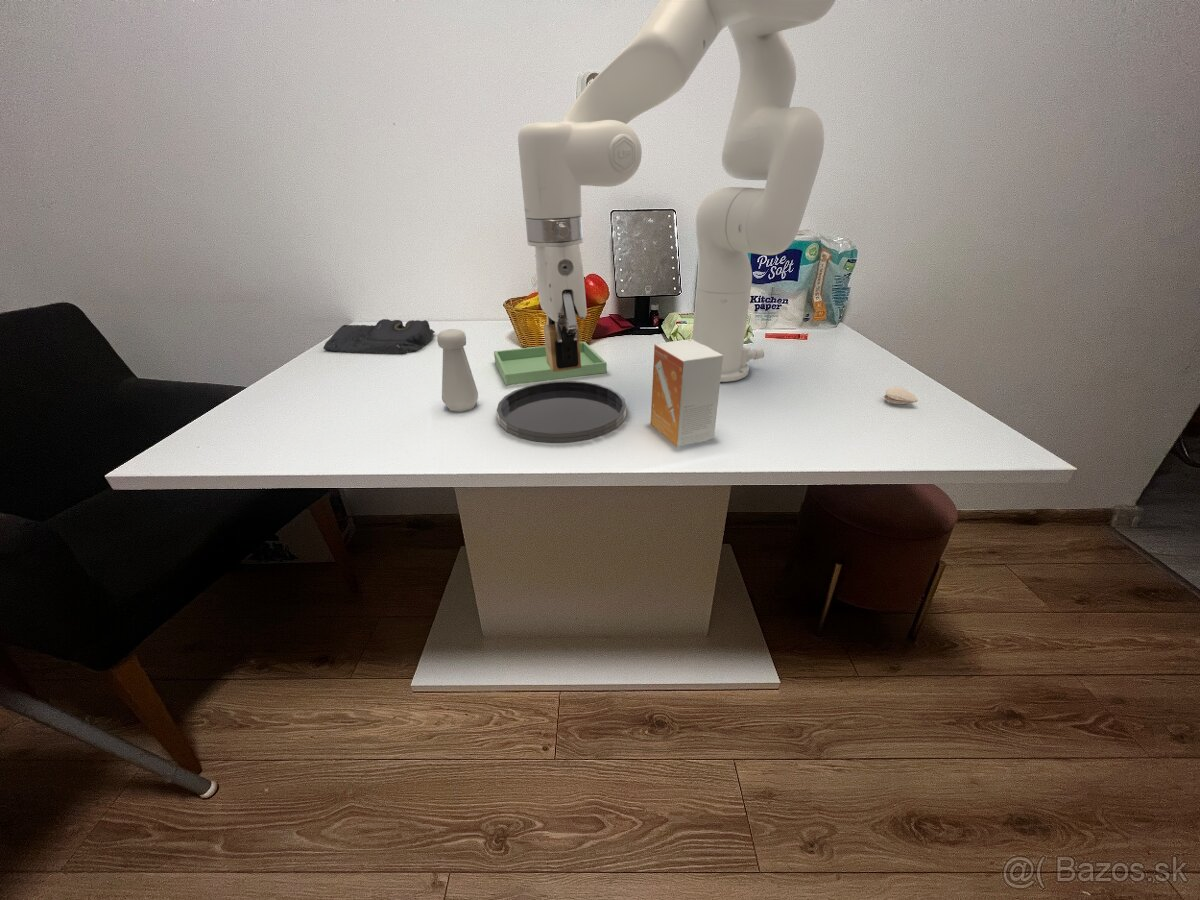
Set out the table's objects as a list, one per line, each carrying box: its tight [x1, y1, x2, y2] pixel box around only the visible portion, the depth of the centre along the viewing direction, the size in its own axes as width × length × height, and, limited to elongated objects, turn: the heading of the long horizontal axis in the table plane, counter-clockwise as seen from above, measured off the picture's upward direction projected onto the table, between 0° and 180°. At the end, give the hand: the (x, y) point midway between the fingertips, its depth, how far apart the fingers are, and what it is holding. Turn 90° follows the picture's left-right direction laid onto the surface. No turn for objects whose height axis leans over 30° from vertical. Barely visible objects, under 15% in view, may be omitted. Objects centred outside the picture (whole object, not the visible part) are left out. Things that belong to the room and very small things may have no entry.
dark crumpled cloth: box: [322, 318, 436, 355], centre depth 115 cm, size 15×22×5 cm
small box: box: [650, 338, 723, 447], centre depth 72 cm, size 8×6×13 cm
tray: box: [493, 341, 608, 386], centre depth 100 cm, size 19×14×2 cm
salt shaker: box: [436, 328, 479, 413], centre depth 81 cm, size 6×6×13 cm
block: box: [543, 324, 581, 372], centre depth 76 cm, size 4×4×6 cm
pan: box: [496, 380, 627, 444], centre depth 81 cm, size 20×20×2 cm
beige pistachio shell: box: [883, 386, 919, 405], centre depth 84 cm, size 4×5×2 cm
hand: (563, 360), depth 77 cm, fingers closed on block, 4 cm apart
